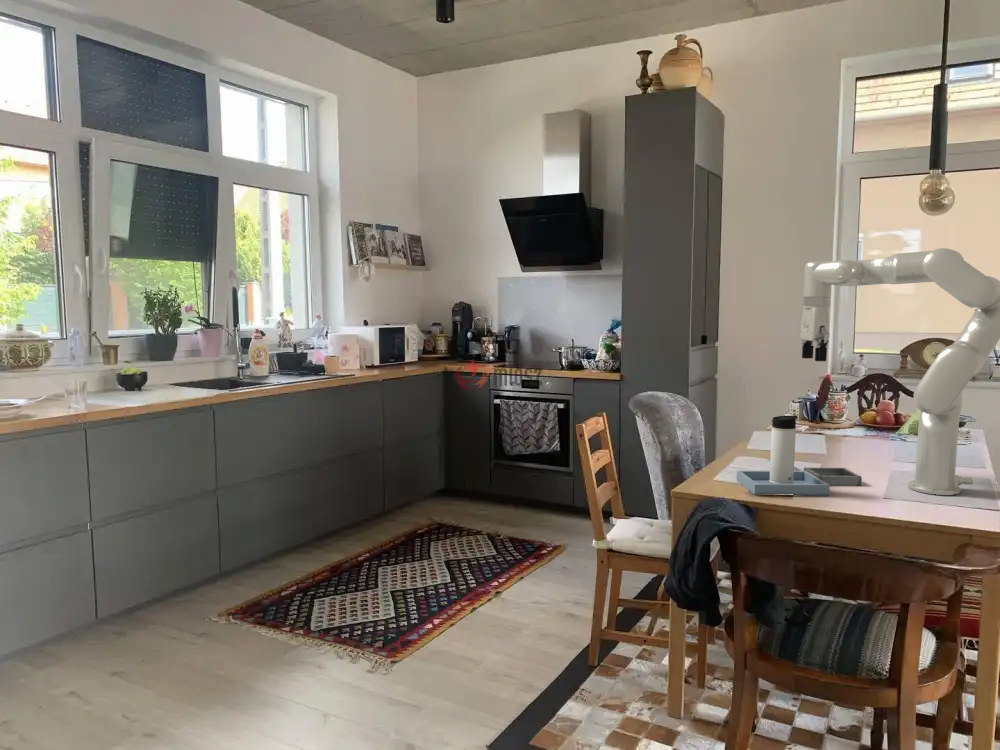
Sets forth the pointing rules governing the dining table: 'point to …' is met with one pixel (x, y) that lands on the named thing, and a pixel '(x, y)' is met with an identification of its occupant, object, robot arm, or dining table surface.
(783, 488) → the tray
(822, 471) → the small grey square tray
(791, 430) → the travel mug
